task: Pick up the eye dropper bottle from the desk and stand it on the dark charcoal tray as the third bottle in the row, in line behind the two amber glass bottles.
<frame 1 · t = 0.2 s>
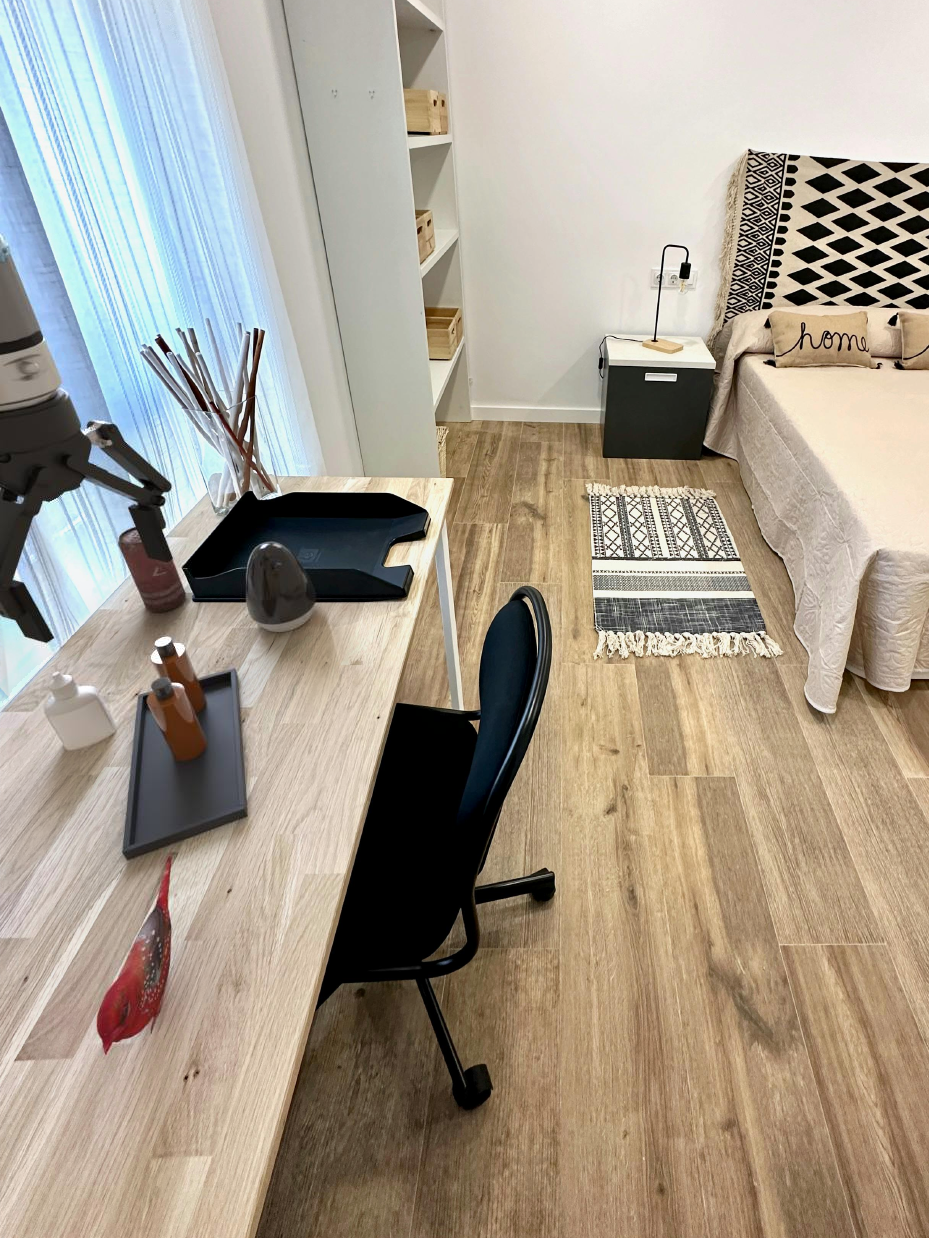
hand: (105, 594, 65), 29 cm above the table, tool pointing down, fingers open, 13 cm apart
tray: (191, 757, 82), on the table
amber bottle 2: (190, 748, 83), point 1 cm above the table, touching tray
can: (166, 602, 108), on the table
dark grey rounded cone: (288, 621, 105), on the table
decorative bird figurine: (167, 978, 61), on the table
amber bottle 1: (190, 705, 88), point 1 cm above the table, touching tray
eye dropper bottle: (93, 739, 84), on the table
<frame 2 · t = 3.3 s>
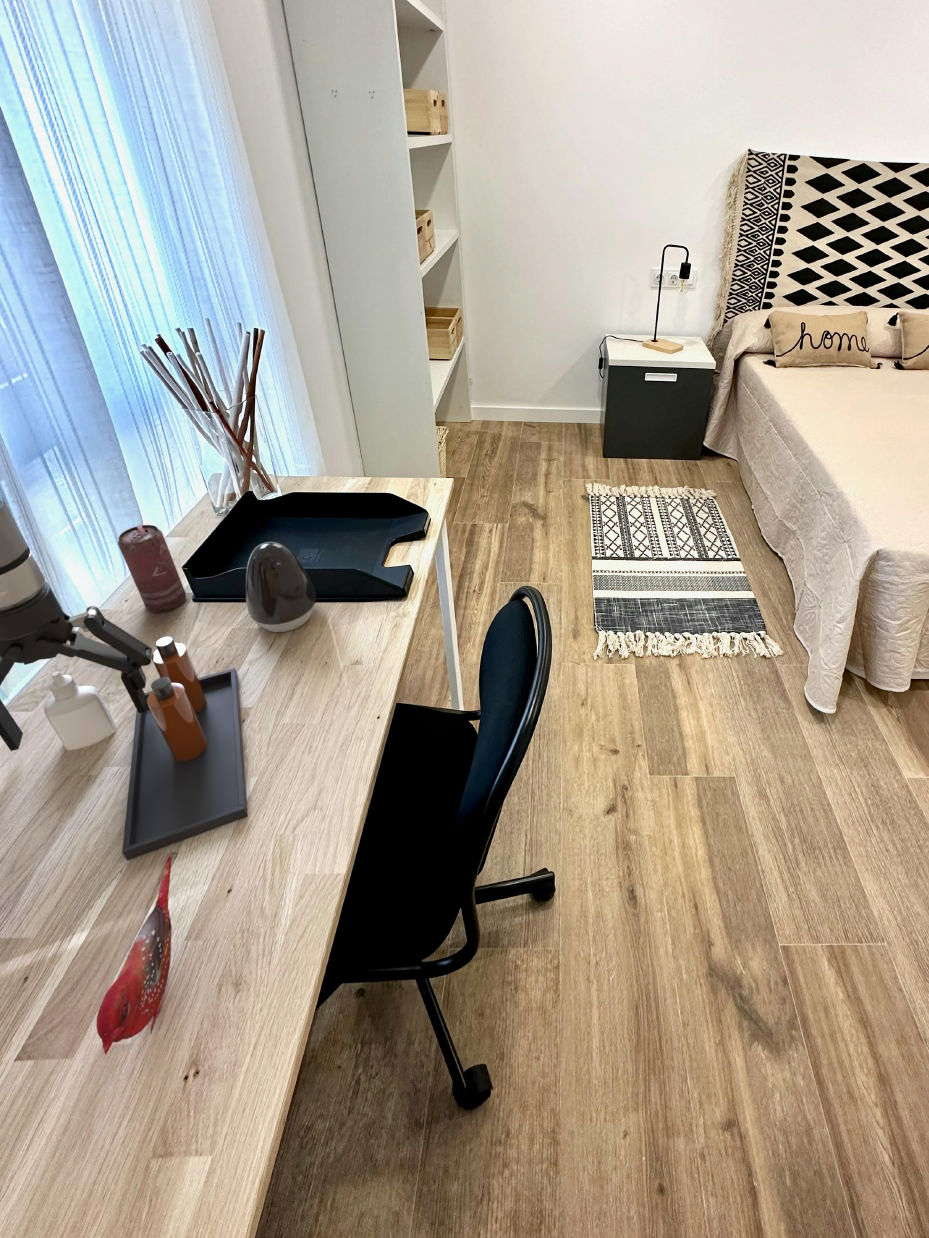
hand: (82, 723, 82), 3 cm above the table, tool pointing down, fingers open, 13 cm apart
amber bottle 1: (190, 705, 88), point 1 cm above the table, touching gripper, tray
everything else where it was.
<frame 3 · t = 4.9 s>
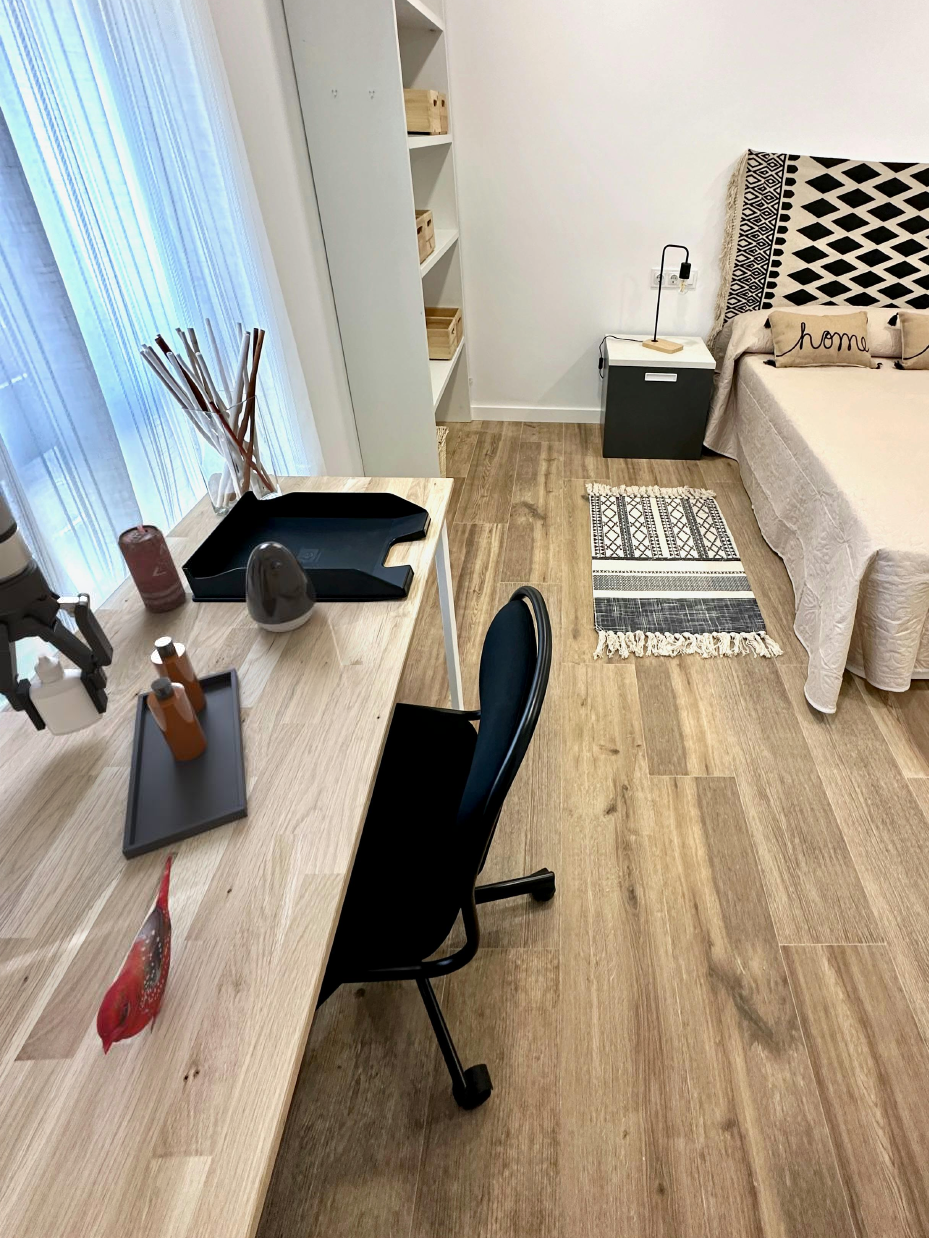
hand: (73, 713, 82), 5 cm above the table, tool pointing down, fingers closed on eye dropper bottle, 6 cm apart
amber bottle 1: (190, 705, 88), point 1 cm above the table, touching tray
eye dropper bottle: (79, 723, 83), point 3 cm above the table, touching gripper
everything else where it was.
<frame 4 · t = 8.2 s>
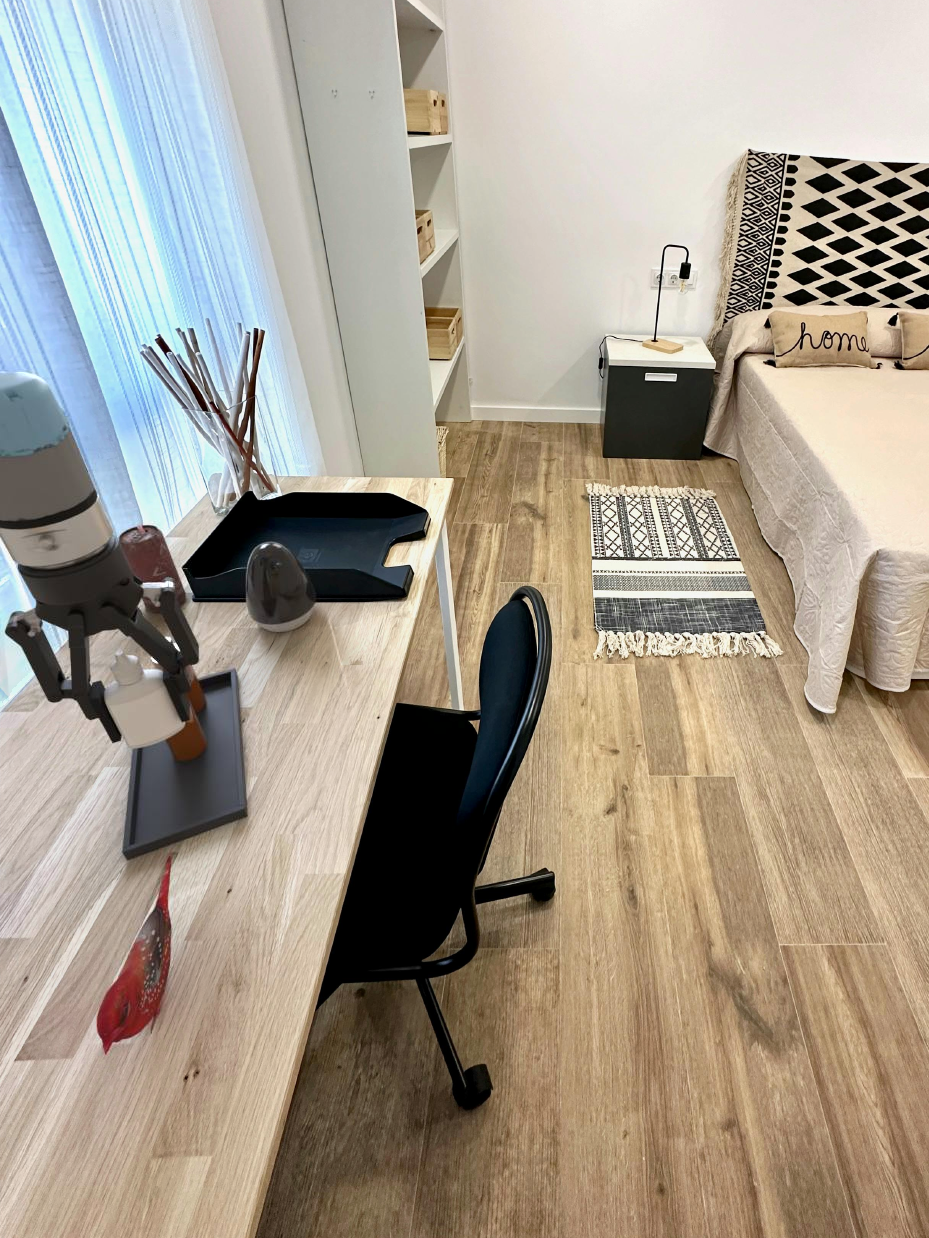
hand: (152, 722, 69), 14 cm above the table, tool pointing down, fingers closed on eye dropper bottle, 6 cm apart
eye dropper bottle: (157, 734, 70), point 12 cm above the table, touching gripper
everything else where it was.
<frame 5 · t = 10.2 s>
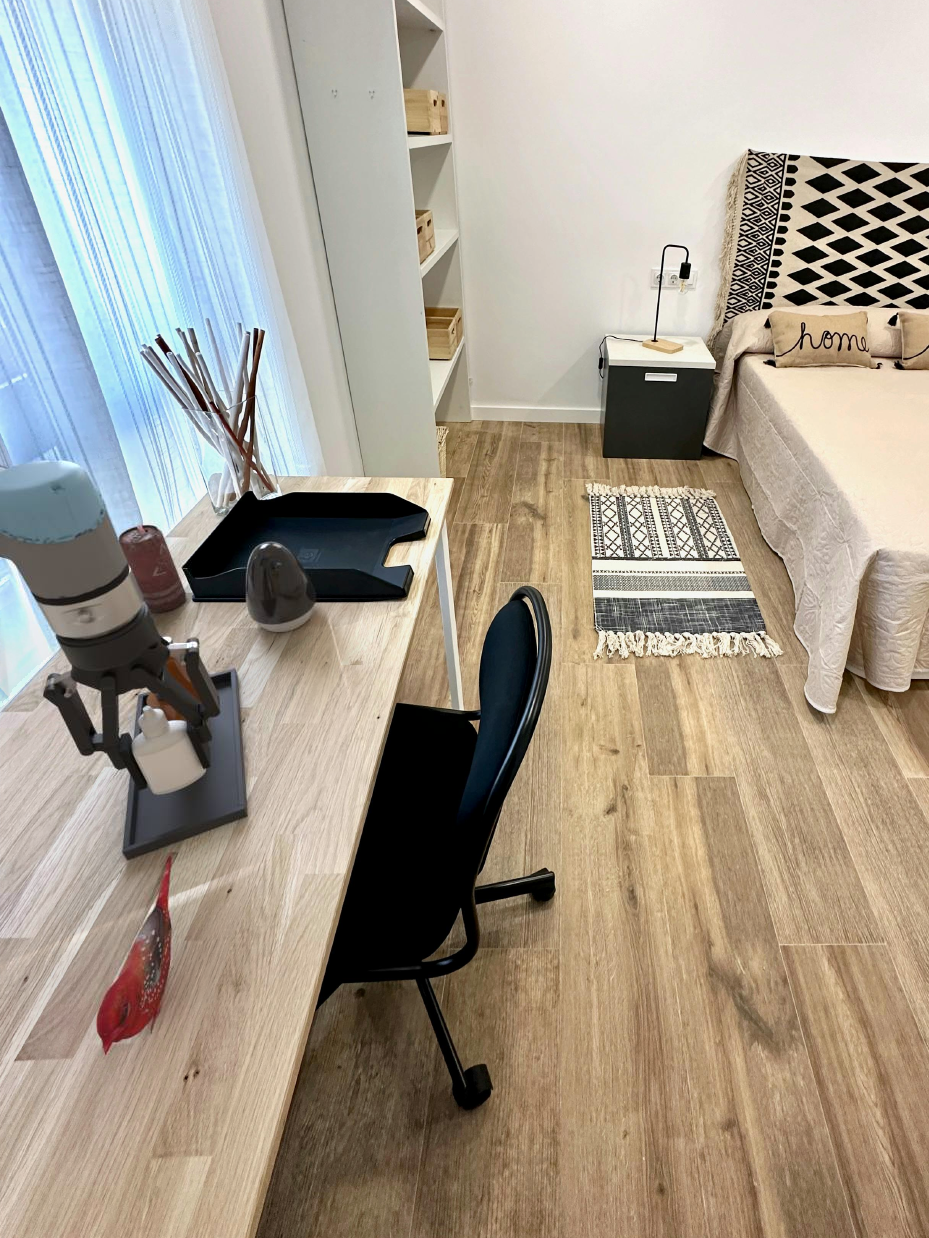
hand: (175, 769, 74), 6 cm above the table, tool pointing down, fingers closed on eye dropper bottle, 6 cm apart
eye dropper bottle: (180, 779, 75), point 4 cm above the table, touching gripper
everything else where it was.
when the fingers open (2 cm above the table, at t = 11.6 s): eye dropper bottle stays where it is, resting on tray.
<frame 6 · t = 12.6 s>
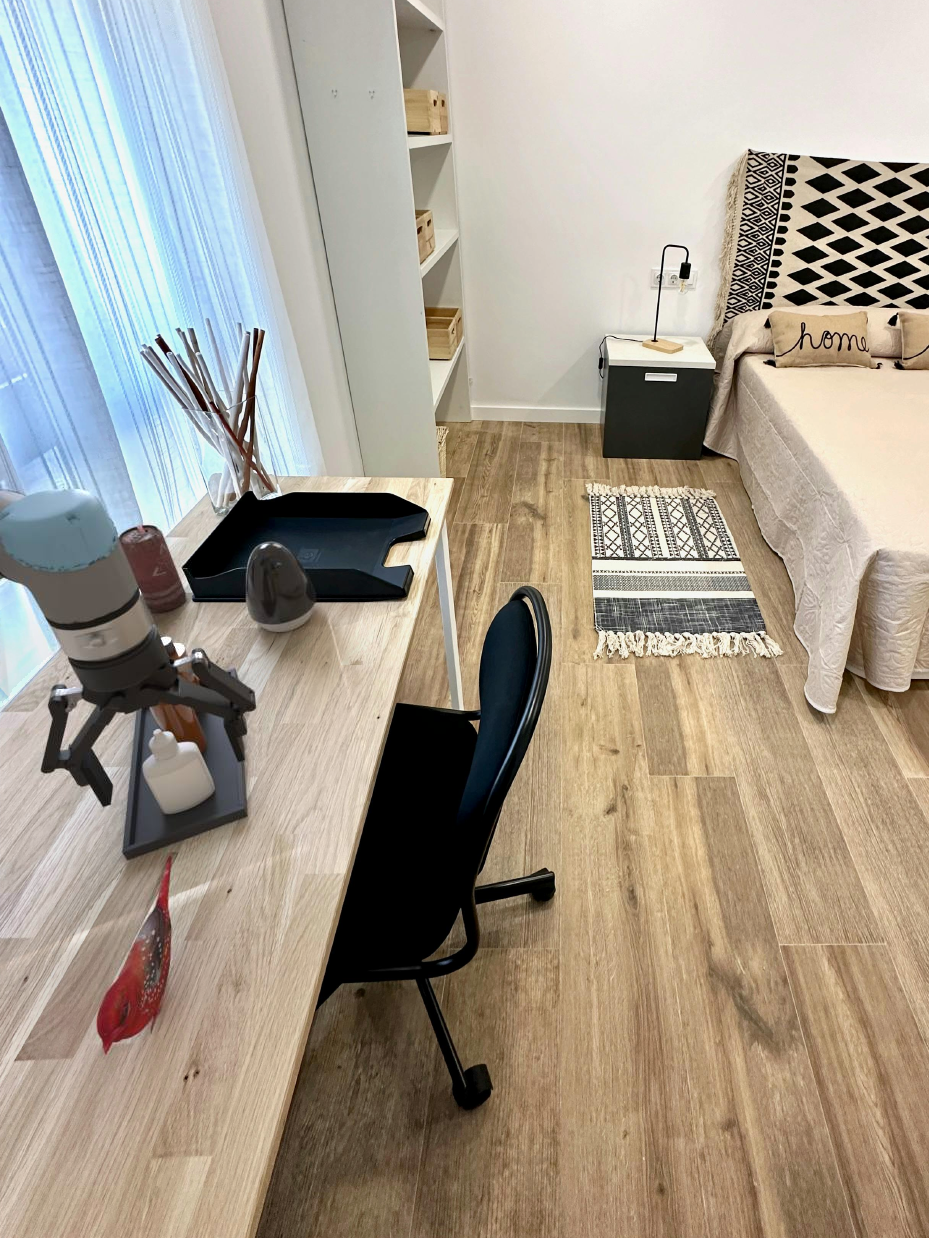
hand: (177, 774, 74), 5 cm above the table, tool pointing down, fingers open, 13 cm apart
eye dropper bottle: (190, 799, 77), resting on tray
everything else where it was.
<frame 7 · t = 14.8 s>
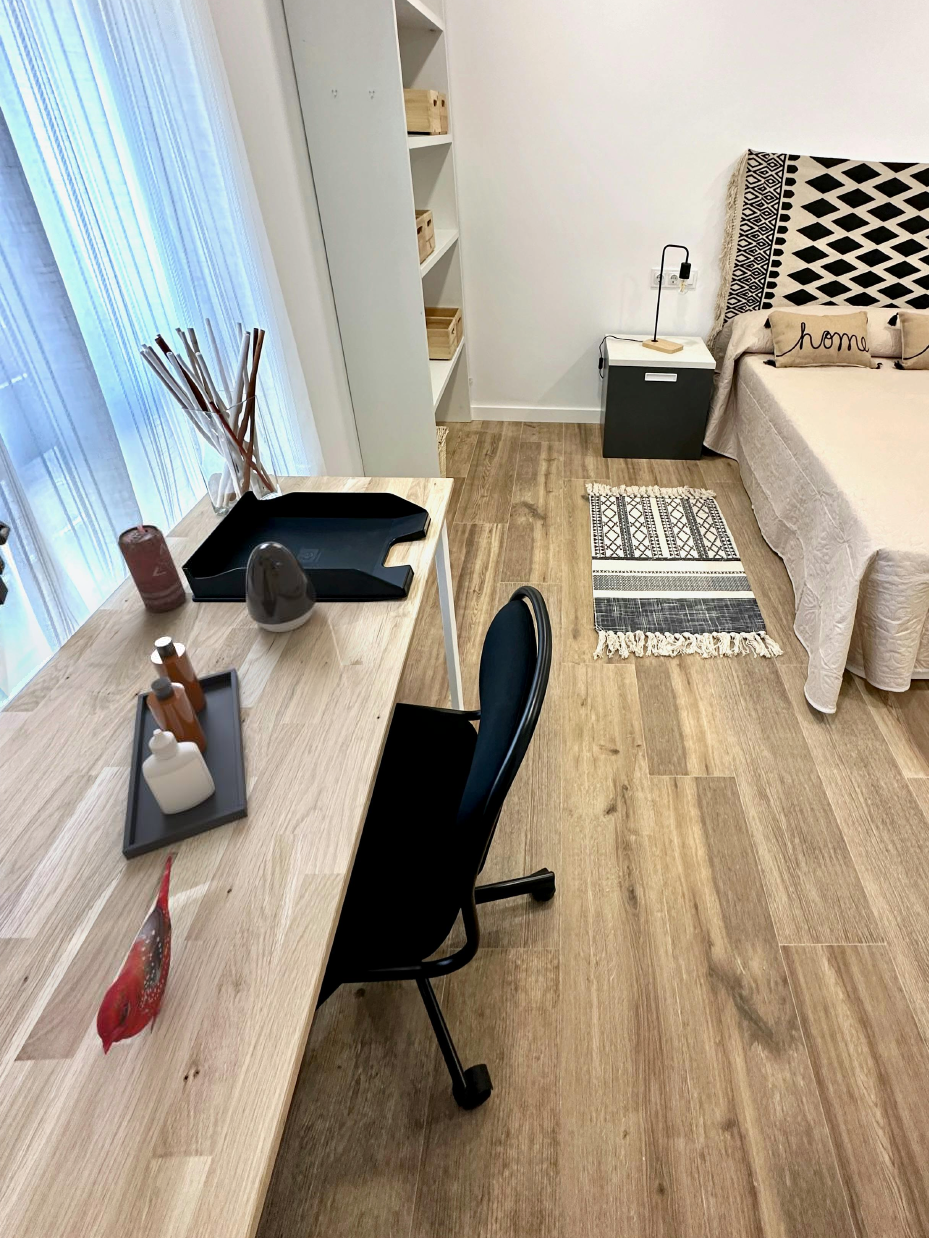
nothing on the table moved.
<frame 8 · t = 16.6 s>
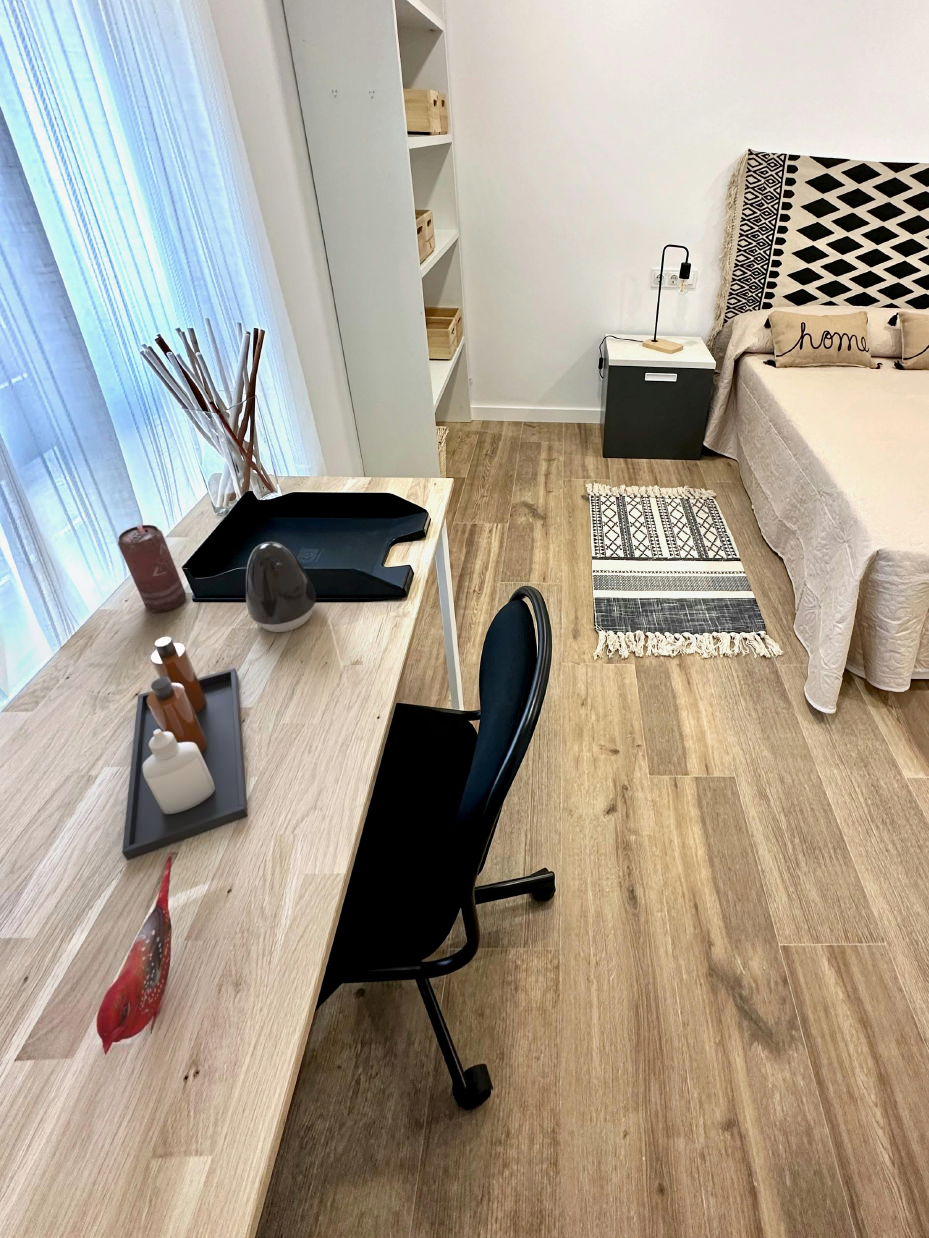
nothing on the table moved.
at the end: eye dropper bottle 0.0 cm from the target spot in the tray, point 0.4 cm above the tray's base; eye dropper bottle tilted 0°; amber bottle 2 moved 0.0 cm from its start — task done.
